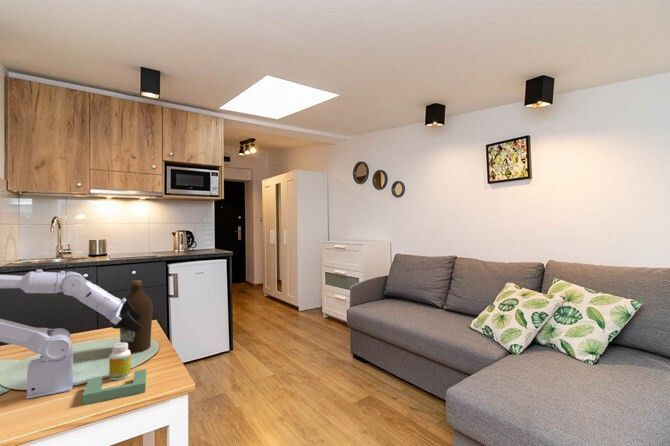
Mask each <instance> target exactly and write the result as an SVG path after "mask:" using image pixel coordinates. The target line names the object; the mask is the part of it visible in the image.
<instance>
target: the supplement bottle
mask: <svg viewBox="0 0 670 446" xmlns="http://www.w3.org/2000/svg"><path fill="white" fill-rule="evenodd" d="M111 350H112V352H111V353H110V354H109V358H108V359H109V365H108V366H109V368H108V370H109V371H108V372H109V373H108V375H109V377H108V378H109V380H111V381H119V380H123V379H127V378H128V377H129V376H131V367H132V366H131V359H132V358H131V357H132V356H131V354H132V353H131V352H130V350H128V343H125V342H122V343H120V342H117V343H115V344H113V345H112V349H111Z"/></svg>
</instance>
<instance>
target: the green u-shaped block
mask: <svg viewBox="0 0 670 446" xmlns="http://www.w3.org/2000/svg"><path fill="white" fill-rule="evenodd" d="M146 384H147V368H145V369H139V370H138V369H137V370H135V371H134V373H133V380H132V382H131V383H127V384H121V385H117V386H116V385H115V386H112V387H106V388H102V386H103V376H99V377H94V378H93V377H92V378H89V379H88V381H87V382H86V386H85V388H84V391H83V394H82V395H81V396H82V406H83V405H84V406H85V405H90V404H94V403H95V404H96V403H99V402H103V401H108V400H113V399H117V398H118V399H119V398H122V397H127V396H128V397H129V396H132V395H136V394H141V393H145V392H146Z"/></svg>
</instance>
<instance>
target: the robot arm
mask: <svg viewBox="0 0 670 446" xmlns="http://www.w3.org/2000/svg"><path fill="white" fill-rule="evenodd" d="M0 289H20V290H22V291H23V292H24V293H26V294H58V293H61V292H62V293H63V295H66V296H71V297H73V298H75V299H77V300H78V301H79V302H81V303H82V304H84V305H85V306H87V307H89V308H90V309H93V310H94V311H96V312H98V313H99V314H101V315H103V316H104V317H105V318H107V319H108V320H109V321H110V323H112V324H111V328H112V329H114V330H117V329H118V330H120V329H126V330H130V331H133V332H138V331H139V330H140V329H141V328H142V326H141V325H140V324H139V323H138V322H137V320H138V319H139V318H140V317H141V316H140V314H139V313H138V312H137V311H136V310H135V309H134V308H133V307H132V305H131V304H130V302H129V300H128V299H125V297H123V298H122V299H121V298H119V297H116V296H114V295H113V294H111V293H110V292H108V291H106V290H105V289H103V288H101V287H100V286H99V285H97V284H94V283H92V281H90V280H87V279H86V278H85V277H84V276H83V275H82V274H81V273H78V272H75V271H71V270H70V271H64V270H61V271H60V272H55V271H54V272H53V271H52V272H51V271H43V269H36V270H35V271H29V272H27V273H25V274H24V275H14V274H13V275H10V274H0ZM0 342H1V343H4V344H5V343H6V344H9V345H14V346H18V347H23V348H26V349H28V350H29V351H31V352H32V353H35V354H38V355H40V356H39V358H35V359H31V360H30V362H29V364H28V366H27V372H26V373H27V374H26V375H27V376H26V397H25V399H33V398H38V397H42V396H47V395H48V396H49V395H53V394H59V393H65V392H70V391H72V390H73V387H74V386H75V383H76V381H77V380H78V376H74V350H73V343H72V341H71V333H70V331H68V330H67V329H65V328H60V327H59V328H58V327H57V328H47V327H35V326H29V325H27V324H22V323H18V322H15V321H11V320H7V319H3V318H0Z"/></svg>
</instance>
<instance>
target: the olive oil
mask: <svg viewBox="0 0 670 446" xmlns="http://www.w3.org/2000/svg"><path fill="white" fill-rule="evenodd" d="M130 286H131V287H130V292H129V293H128V295H126V296H125V297H124V298H125V299H128V300H129V302H130V304H131V305H132V307H133V308H134V309H135V310H136V311H137V312H138V313H139V314H140V316H141V317H140V318H139V319H138V320H137V322H138V323H139V324H140V325H141V326H142V328H141V329H140V330H139V331H138V332H133V331H130V330H126V329H119V335H120V336H119V337H120V342H119V343H122V342H125V343H128V350H130V352H131V354H136V353H141V352H144V351H147V350H149V349H150V348H151V346H152V345H151V344H152V343H151V342H152V324H153V322H152V321H153V311H154V305H153V300H152V298H151V297H150V296H149V295H147V294H146V293H145V292H144V291H143V290H142V289H143V284H142V280H137V279H136V280H132V281H131V285H130Z"/></svg>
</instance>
